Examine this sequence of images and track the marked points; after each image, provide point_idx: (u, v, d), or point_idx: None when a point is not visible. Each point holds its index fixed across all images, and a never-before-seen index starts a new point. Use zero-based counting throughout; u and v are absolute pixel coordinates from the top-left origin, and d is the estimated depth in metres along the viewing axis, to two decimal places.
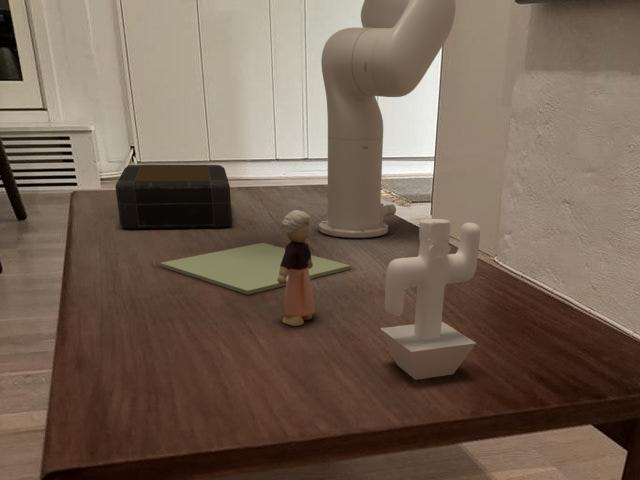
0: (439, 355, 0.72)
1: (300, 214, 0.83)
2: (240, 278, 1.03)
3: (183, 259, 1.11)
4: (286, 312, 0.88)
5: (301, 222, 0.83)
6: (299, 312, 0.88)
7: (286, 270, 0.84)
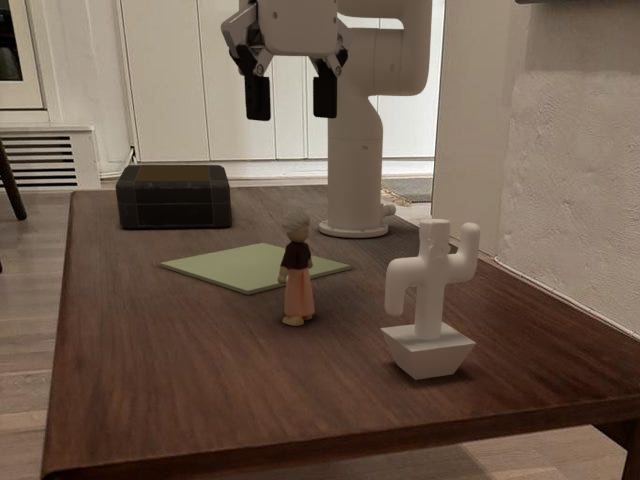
0: (439, 355, 0.72)
1: (300, 214, 0.83)
2: (240, 278, 1.03)
3: (183, 259, 1.11)
4: (286, 312, 0.88)
5: (301, 222, 0.83)
6: (299, 312, 0.88)
7: (286, 270, 0.84)
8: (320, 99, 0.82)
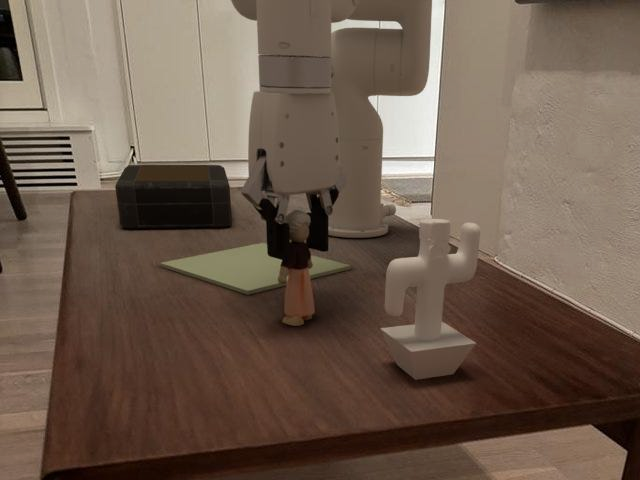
0: (439, 355, 0.72)
1: (300, 214, 0.83)
2: (240, 278, 1.03)
3: (183, 259, 1.11)
4: (286, 312, 0.87)
5: (301, 222, 0.83)
6: (299, 312, 0.88)
7: (286, 270, 0.84)
8: (312, 234, 0.87)
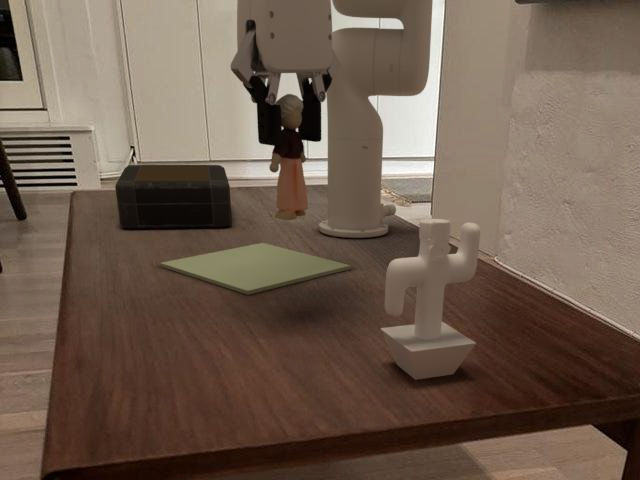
0: (439, 355, 0.72)
1: (292, 97, 0.80)
2: (240, 278, 1.03)
3: (183, 259, 1.11)
4: (278, 205, 0.84)
5: (294, 106, 0.80)
6: (292, 206, 0.85)
7: (278, 158, 0.81)
8: (305, 123, 0.84)
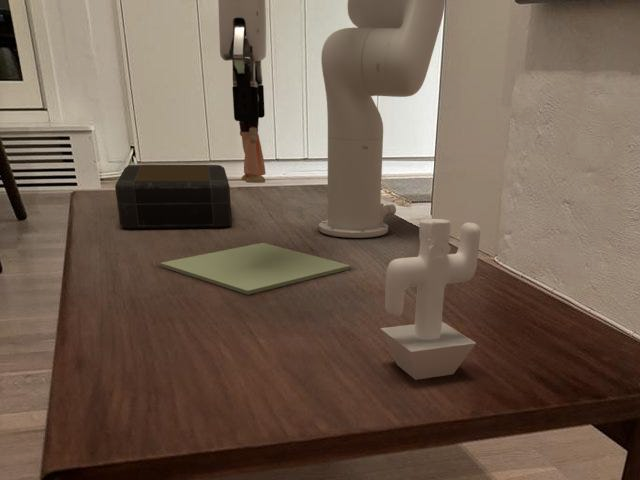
0: (439, 355, 0.72)
1: None
2: (240, 278, 1.03)
3: (183, 259, 1.11)
4: (251, 172, 1.01)
5: None
6: (259, 171, 1.03)
7: (256, 131, 0.98)
8: None
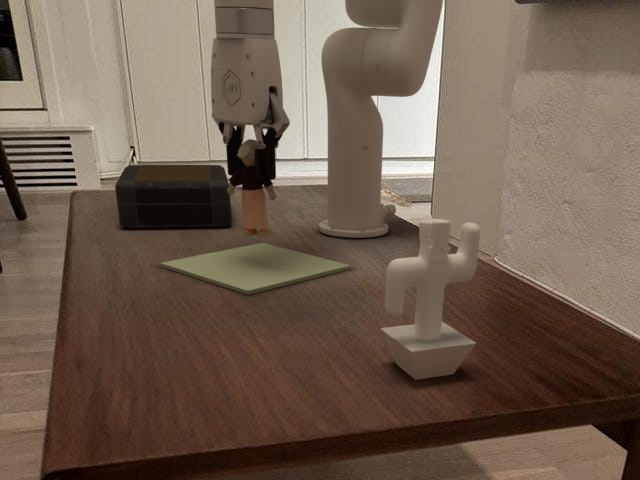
0: (439, 355, 0.72)
1: (256, 141, 1.02)
2: (240, 278, 1.03)
3: (183, 259, 1.11)
4: (265, 226, 1.06)
5: None
6: None
7: (273, 188, 1.03)
8: (237, 161, 1.04)
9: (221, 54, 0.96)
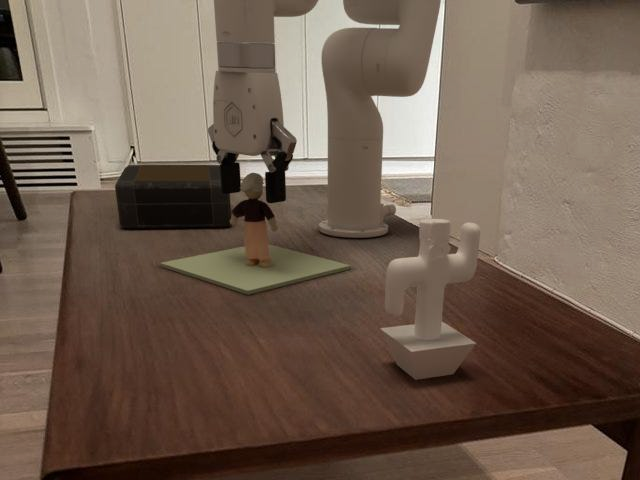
0: (439, 355, 0.72)
1: None
2: (240, 278, 1.03)
3: (183, 259, 1.11)
4: (267, 257, 1.08)
5: None
6: None
7: (275, 220, 1.06)
8: (230, 180, 1.07)
9: (223, 86, 0.97)
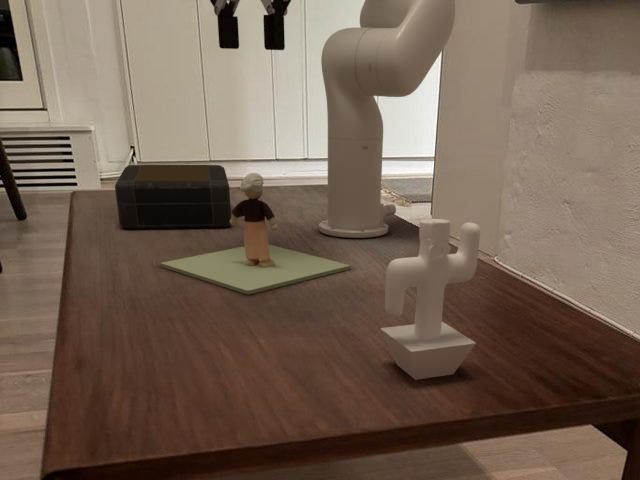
0: (439, 355, 0.72)
1: None
2: (240, 278, 1.03)
3: (183, 259, 1.11)
4: (267, 257, 1.08)
5: None
6: None
7: None
8: (228, 33, 1.05)
9: None
